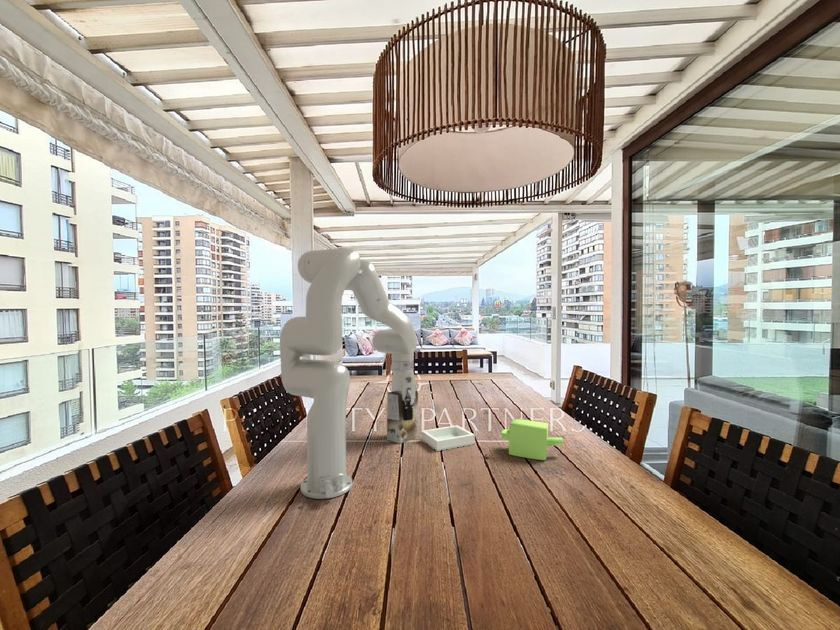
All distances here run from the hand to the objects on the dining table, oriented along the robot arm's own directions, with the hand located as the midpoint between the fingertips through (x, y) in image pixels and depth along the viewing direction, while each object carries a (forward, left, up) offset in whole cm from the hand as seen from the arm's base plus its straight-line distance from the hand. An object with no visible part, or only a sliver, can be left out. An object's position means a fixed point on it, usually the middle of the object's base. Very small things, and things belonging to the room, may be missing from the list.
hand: (402, 416), depth 131 cm
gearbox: (-29, -31, -8) cm, 43 cm away
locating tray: (-10, -12, -8) cm, 17 cm away
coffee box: (0, 0, -8) cm, 8 cm away
